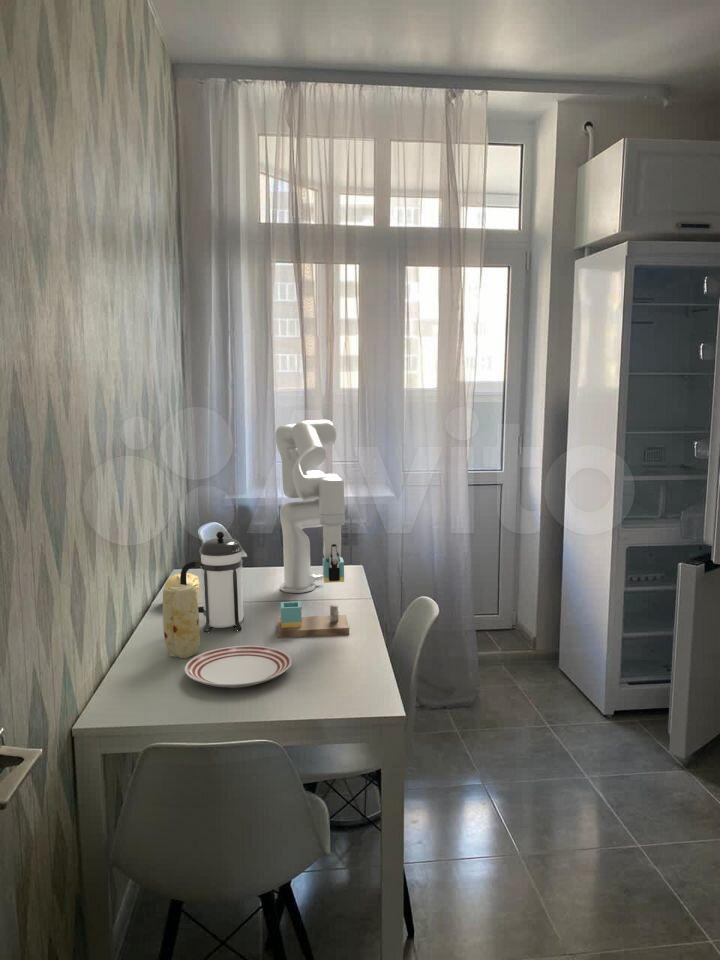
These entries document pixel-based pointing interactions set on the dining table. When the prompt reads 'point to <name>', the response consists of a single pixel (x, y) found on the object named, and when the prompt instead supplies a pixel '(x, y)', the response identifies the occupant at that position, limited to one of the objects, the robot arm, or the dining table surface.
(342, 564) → the sleeve
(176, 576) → the sculpture
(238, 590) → the coffee press
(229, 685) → the dinner plate
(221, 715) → the dining table surface
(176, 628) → the food model
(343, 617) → the pin board
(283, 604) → the seated sleeve
